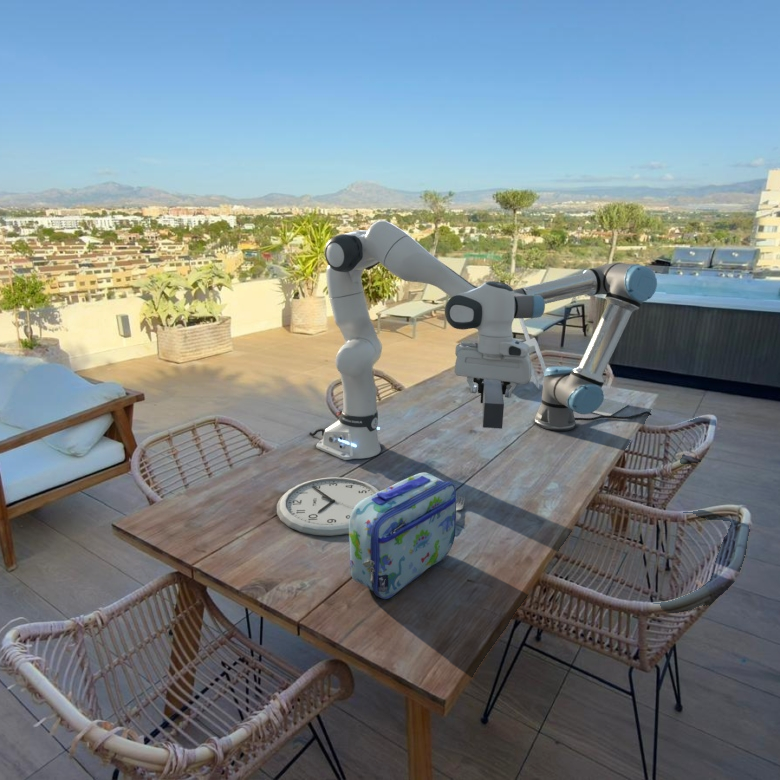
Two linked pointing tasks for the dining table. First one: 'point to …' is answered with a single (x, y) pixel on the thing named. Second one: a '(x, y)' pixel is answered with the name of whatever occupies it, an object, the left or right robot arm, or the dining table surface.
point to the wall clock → (323, 505)
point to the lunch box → (401, 532)
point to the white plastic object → (532, 347)
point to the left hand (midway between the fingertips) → (490, 394)
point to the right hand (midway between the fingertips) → (491, 402)
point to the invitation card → (609, 407)
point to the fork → (459, 506)
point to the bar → (492, 404)
